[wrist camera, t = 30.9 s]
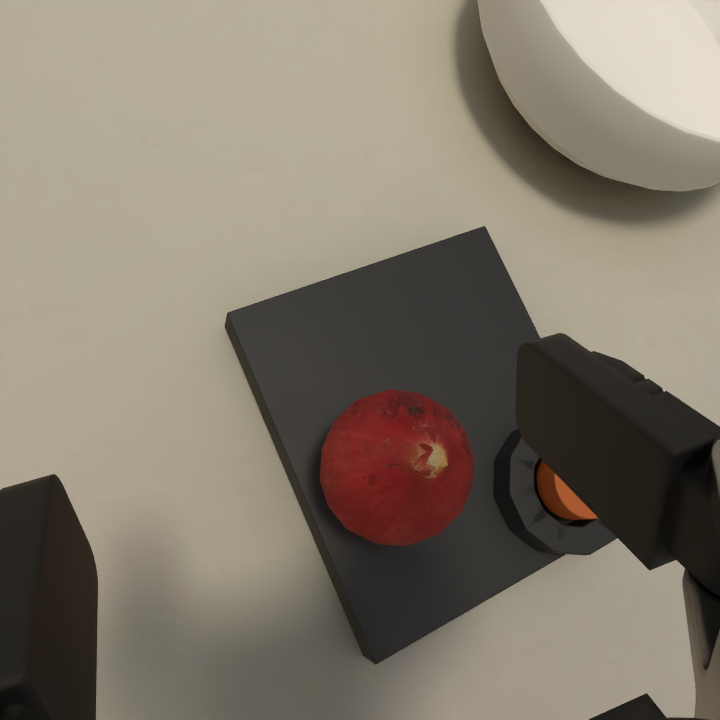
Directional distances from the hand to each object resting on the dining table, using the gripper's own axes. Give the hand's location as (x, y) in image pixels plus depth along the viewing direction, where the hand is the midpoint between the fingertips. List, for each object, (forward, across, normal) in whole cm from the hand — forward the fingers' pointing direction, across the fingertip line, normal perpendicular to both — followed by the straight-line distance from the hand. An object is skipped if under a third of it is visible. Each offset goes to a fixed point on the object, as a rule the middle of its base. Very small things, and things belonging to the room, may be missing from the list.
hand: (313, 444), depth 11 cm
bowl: (+27, -26, 0) cm, 38 cm away
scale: (+14, -8, +12) cm, 20 cm away
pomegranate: (+12, -4, +12) cm, 17 cm away
